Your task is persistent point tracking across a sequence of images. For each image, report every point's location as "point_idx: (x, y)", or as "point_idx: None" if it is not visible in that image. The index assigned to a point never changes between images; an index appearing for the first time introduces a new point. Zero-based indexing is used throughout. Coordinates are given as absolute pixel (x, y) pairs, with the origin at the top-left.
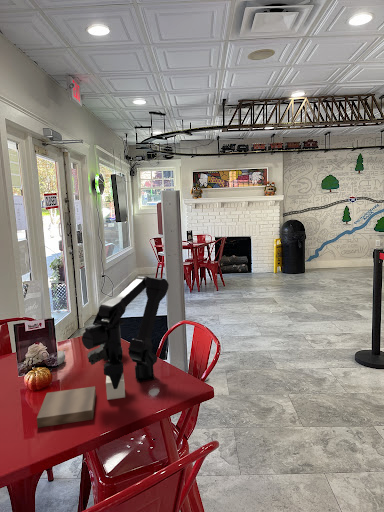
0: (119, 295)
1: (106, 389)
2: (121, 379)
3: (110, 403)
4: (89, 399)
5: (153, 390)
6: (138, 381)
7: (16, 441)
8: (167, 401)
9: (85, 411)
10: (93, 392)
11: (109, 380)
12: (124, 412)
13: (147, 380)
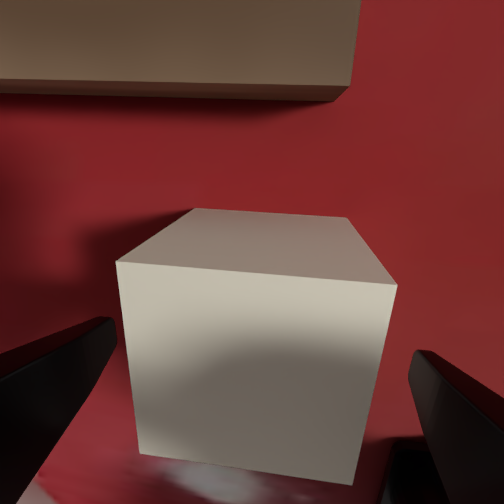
0: None
1: (157, 234)
2: (181, 439)
3: (131, 230)
4: (7, 23)
5: (234, 481)
6: (394, 448)
7: None
8: (98, 499)
9: None
10: (175, 68)
11: (195, 314)
12: (7, 306)
13: (379, 492)
